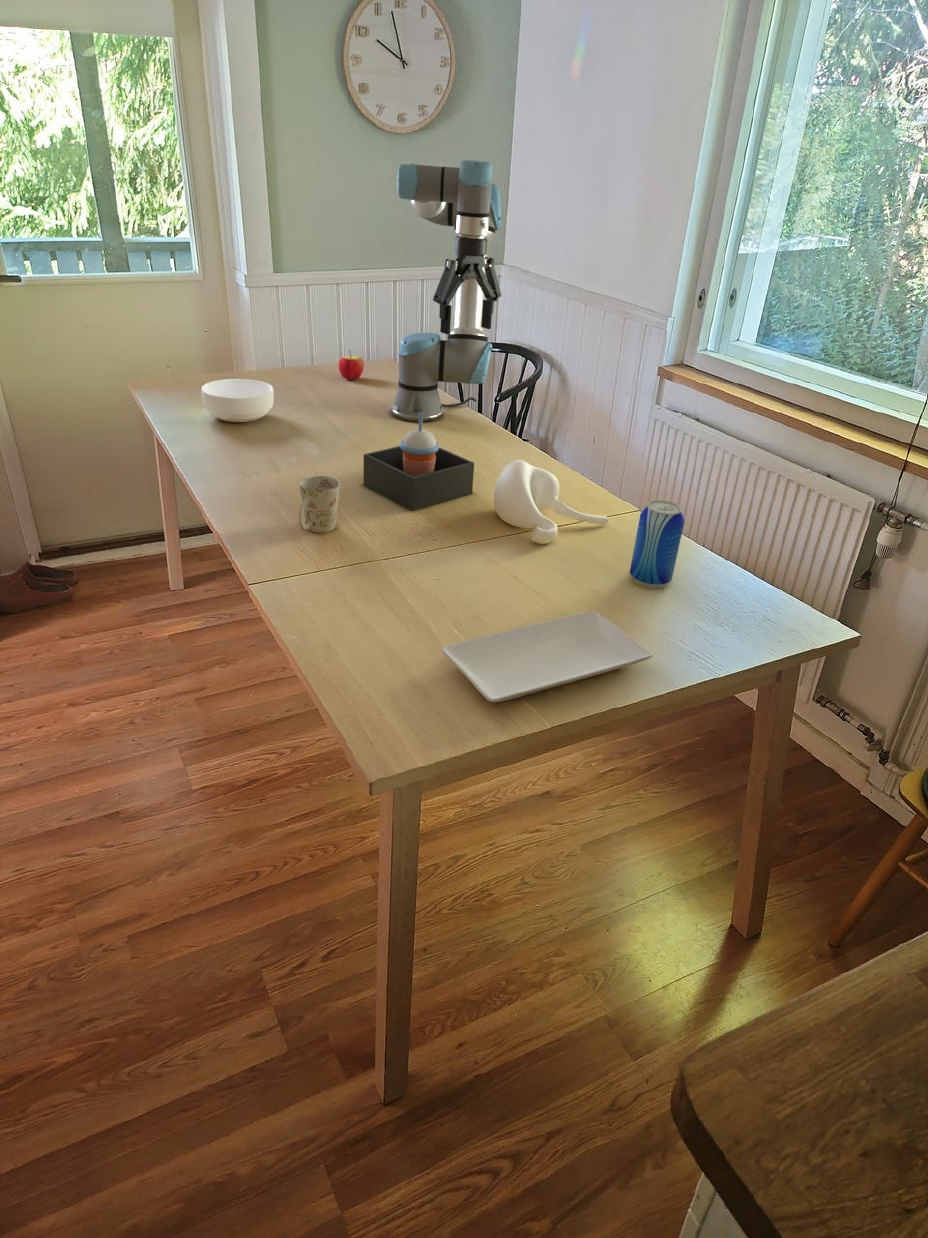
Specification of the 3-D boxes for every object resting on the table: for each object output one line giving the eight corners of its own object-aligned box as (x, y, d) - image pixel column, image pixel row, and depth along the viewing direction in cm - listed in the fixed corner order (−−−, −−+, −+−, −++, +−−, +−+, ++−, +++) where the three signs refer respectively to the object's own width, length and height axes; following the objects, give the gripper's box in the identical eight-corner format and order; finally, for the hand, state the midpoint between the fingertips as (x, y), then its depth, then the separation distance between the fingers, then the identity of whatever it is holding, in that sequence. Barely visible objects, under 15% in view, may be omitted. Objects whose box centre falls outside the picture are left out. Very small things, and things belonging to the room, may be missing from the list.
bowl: (289, 417, 243) (288, 388, 238) (239, 433, 228) (237, 402, 224) (240, 403, 251) (238, 374, 247) (188, 417, 237) (185, 387, 232)
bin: (422, 470, 213) (423, 440, 209) (472, 493, 202) (474, 462, 198) (363, 485, 202) (363, 454, 198) (412, 510, 190) (413, 478, 186)
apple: (335, 380, 279) (335, 350, 274) (342, 374, 286) (342, 344, 281) (359, 383, 278) (359, 352, 273) (366, 377, 285) (366, 347, 280)
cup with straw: (439, 481, 205) (443, 408, 196) (434, 495, 197) (438, 420, 188) (402, 477, 205) (404, 404, 196) (396, 491, 198) (398, 416, 188)
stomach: (515, 564, 180) (606, 559, 191) (535, 516, 171) (629, 513, 182) (475, 497, 194) (562, 495, 204) (492, 449, 185) (582, 450, 196)
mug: (347, 523, 182) (346, 480, 177) (320, 546, 172) (318, 500, 167) (312, 516, 184) (311, 473, 179) (284, 538, 174) (281, 493, 169)
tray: (437, 662, 138) (438, 644, 136) (591, 624, 152) (594, 607, 150) (489, 720, 125) (491, 701, 123) (652, 672, 139) (656, 655, 137)
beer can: (662, 595, 163) (678, 519, 155) (622, 582, 166) (635, 507, 158) (676, 579, 169) (692, 505, 161) (637, 567, 173) (651, 494, 165)
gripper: (442, 239, 185) (437, 338, 196) (520, 236, 200) (512, 328, 211) (420, 235, 190) (417, 332, 200) (498, 232, 205) (491, 322, 216)
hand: (465, 330), depth 206 cm, fingers open, 13 cm apart
